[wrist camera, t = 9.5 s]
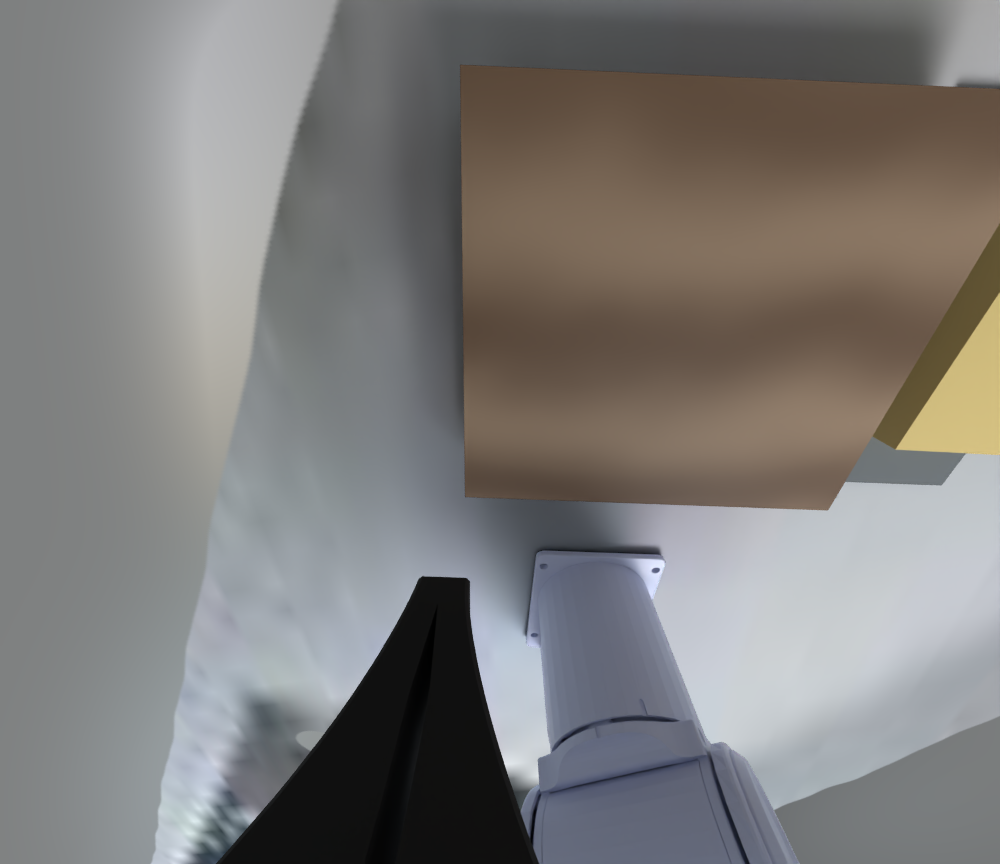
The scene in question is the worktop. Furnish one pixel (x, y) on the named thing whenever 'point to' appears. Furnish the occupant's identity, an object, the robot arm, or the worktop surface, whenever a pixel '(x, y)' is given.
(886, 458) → the mat
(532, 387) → the board
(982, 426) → the pale yellow rectangular block
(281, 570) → the worktop surface
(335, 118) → the worktop surface
